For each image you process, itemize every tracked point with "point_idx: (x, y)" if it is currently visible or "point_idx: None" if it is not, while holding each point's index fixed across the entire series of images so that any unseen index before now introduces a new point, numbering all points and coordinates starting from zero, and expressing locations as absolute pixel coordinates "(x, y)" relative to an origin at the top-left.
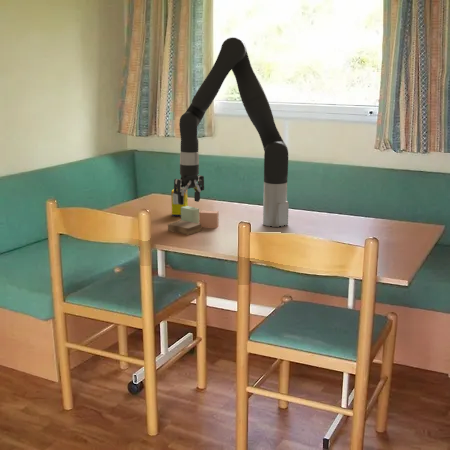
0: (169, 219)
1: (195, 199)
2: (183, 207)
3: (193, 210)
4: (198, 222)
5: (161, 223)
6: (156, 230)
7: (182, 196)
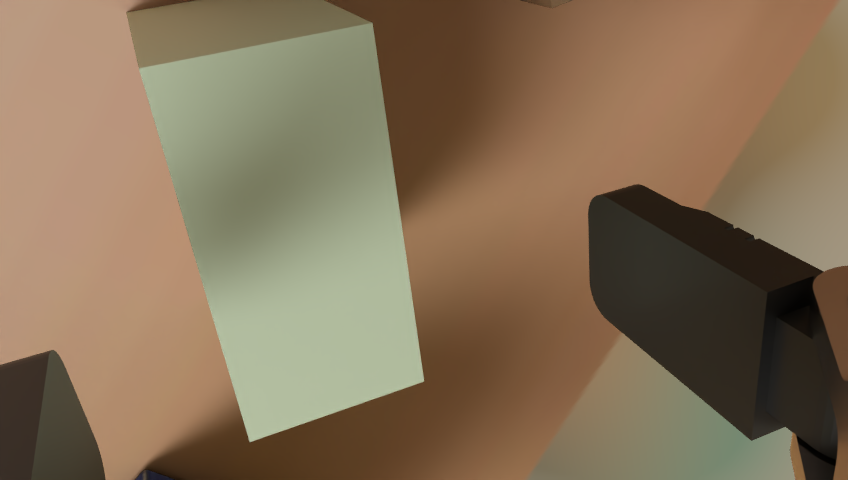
0: (414, 406)
1: (90, 466)
2: (396, 344)
3: (340, 25)
4: (146, 9)
5: None
6: (820, 7)
7: (790, 266)
